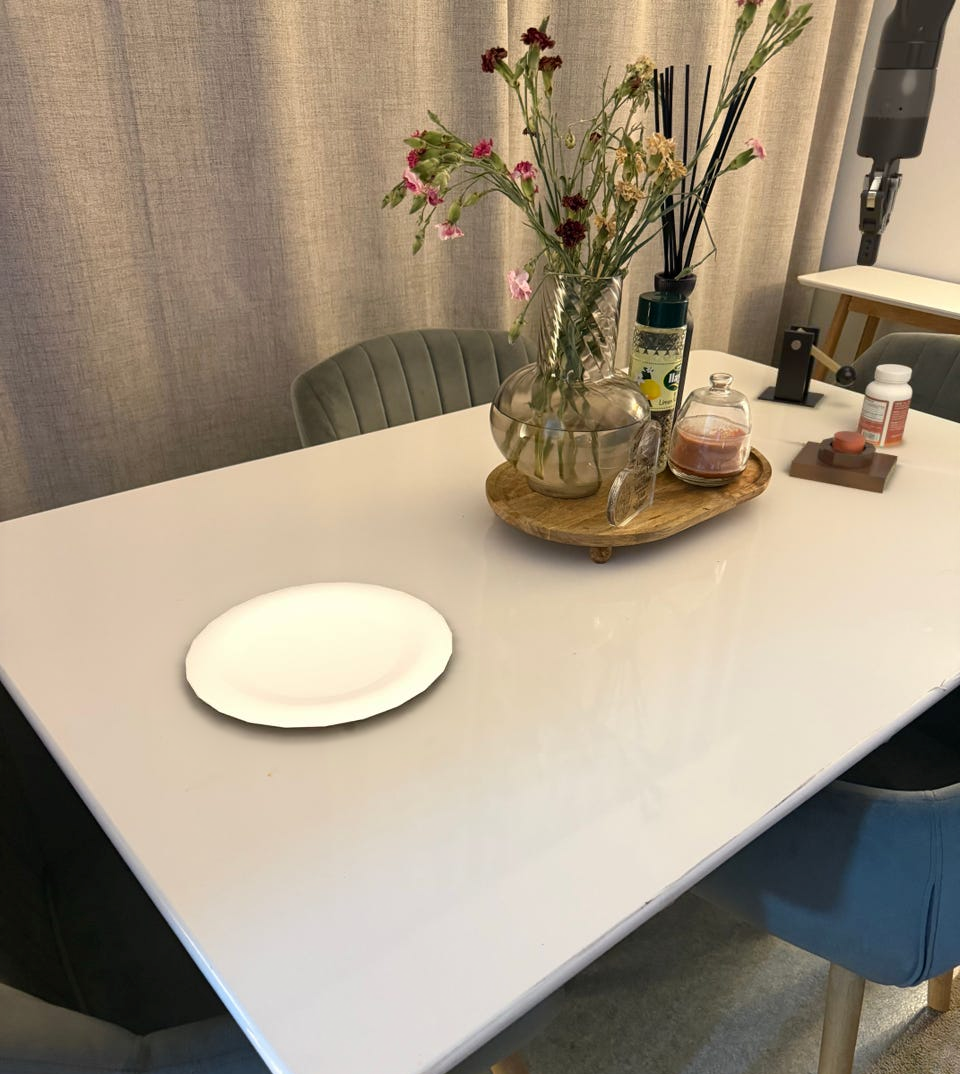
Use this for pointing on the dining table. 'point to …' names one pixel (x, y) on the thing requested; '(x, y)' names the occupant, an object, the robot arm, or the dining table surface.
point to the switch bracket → (795, 369)
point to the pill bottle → (886, 405)
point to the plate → (319, 655)
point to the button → (848, 441)
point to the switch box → (844, 466)
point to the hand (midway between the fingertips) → (865, 264)
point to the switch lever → (835, 367)
